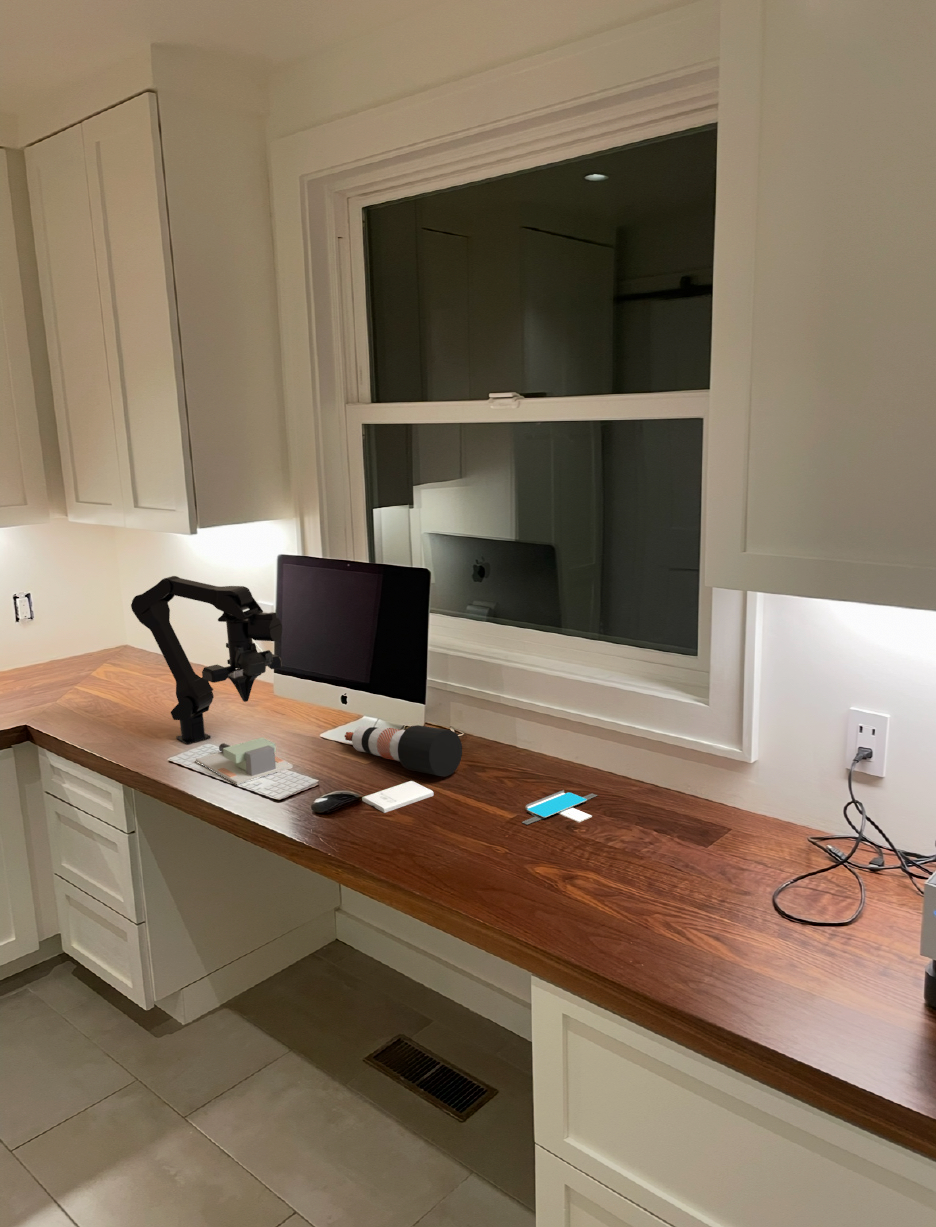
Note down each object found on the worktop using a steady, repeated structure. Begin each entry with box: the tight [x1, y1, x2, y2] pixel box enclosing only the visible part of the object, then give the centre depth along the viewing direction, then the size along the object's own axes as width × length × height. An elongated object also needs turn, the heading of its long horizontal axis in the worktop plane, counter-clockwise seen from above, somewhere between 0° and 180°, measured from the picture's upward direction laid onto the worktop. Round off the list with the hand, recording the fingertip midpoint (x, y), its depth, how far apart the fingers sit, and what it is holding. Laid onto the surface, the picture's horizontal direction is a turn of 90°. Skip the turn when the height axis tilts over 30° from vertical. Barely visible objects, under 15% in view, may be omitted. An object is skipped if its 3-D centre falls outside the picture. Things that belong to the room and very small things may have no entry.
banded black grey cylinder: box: [344, 725, 463, 778], centre depth 213 cm, size 10×34×10 cm, turn 46°
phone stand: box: [522, 789, 598, 825], centre depth 184 cm, size 20×12×2 cm, turn 130°
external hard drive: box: [361, 780, 435, 814], centre depth 193 cm, size 2×8×12 cm
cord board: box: [195, 742, 293, 785], centre depth 214 cm, size 20×14×6 cm
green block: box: [223, 736, 277, 770], centre depth 211 cm, size 6×10×4 cm, turn 132°
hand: (245, 701), depth 226 cm, fingers closed
